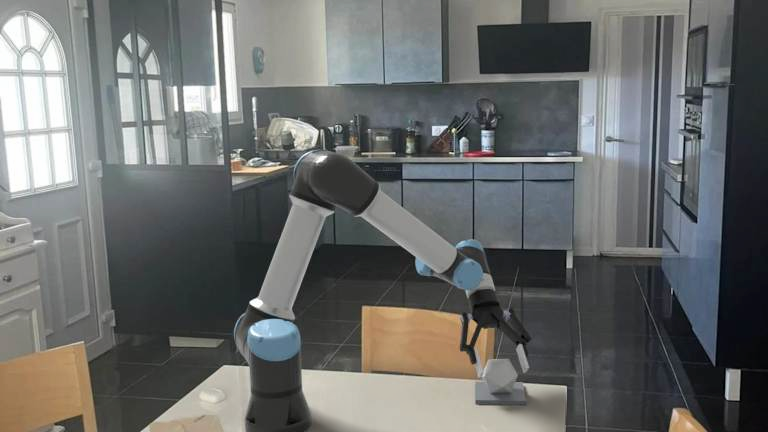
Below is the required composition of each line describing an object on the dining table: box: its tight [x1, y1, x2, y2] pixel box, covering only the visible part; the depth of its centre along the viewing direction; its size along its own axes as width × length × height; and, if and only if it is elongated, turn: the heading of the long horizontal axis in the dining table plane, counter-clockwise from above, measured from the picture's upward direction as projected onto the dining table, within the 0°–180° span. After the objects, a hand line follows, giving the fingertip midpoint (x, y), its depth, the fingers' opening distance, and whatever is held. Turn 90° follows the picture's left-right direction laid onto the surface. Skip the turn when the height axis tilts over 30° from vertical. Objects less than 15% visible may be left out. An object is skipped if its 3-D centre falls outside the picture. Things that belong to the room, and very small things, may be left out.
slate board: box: [474, 380, 527, 406], centre depth 193 cm, size 12×12×1 cm
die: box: [481, 358, 519, 393], centre depth 192 cm, size 8×9×10 cm
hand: (503, 373), depth 189 cm, fingers open, 11 cm apart
